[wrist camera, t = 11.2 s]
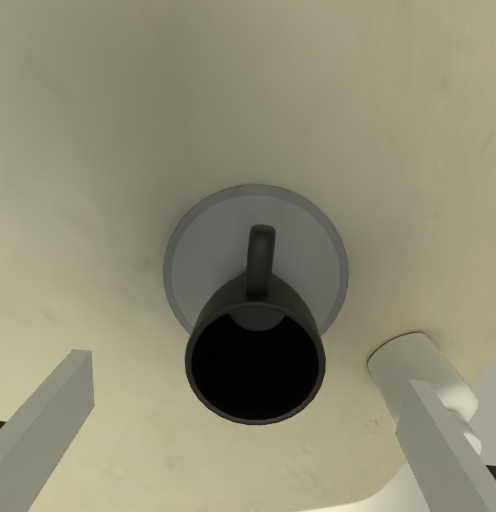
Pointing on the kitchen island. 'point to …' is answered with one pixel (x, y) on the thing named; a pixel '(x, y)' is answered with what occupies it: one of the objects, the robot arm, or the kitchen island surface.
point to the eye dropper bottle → (423, 379)
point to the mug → (256, 344)
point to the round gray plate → (236, 246)
